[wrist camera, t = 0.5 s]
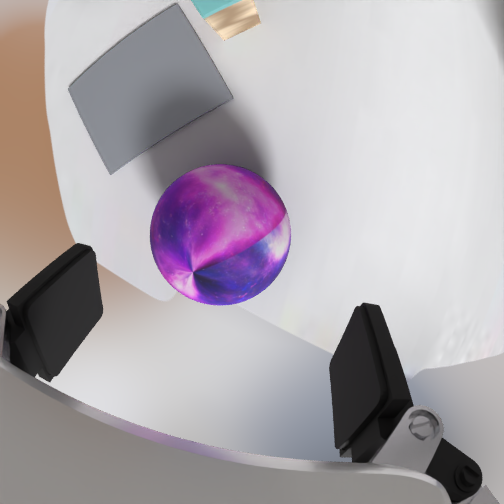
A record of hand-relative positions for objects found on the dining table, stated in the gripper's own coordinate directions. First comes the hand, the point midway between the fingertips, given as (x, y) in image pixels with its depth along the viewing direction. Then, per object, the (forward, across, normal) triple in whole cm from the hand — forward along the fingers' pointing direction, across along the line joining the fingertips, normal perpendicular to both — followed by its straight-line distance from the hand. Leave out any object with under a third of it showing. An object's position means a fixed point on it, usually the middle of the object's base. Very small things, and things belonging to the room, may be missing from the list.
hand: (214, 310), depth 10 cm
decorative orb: (+28, +4, +7) cm, 30 cm away
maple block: (+28, +8, -19) cm, 35 cm away
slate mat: (+28, +18, -8) cm, 35 cm away
